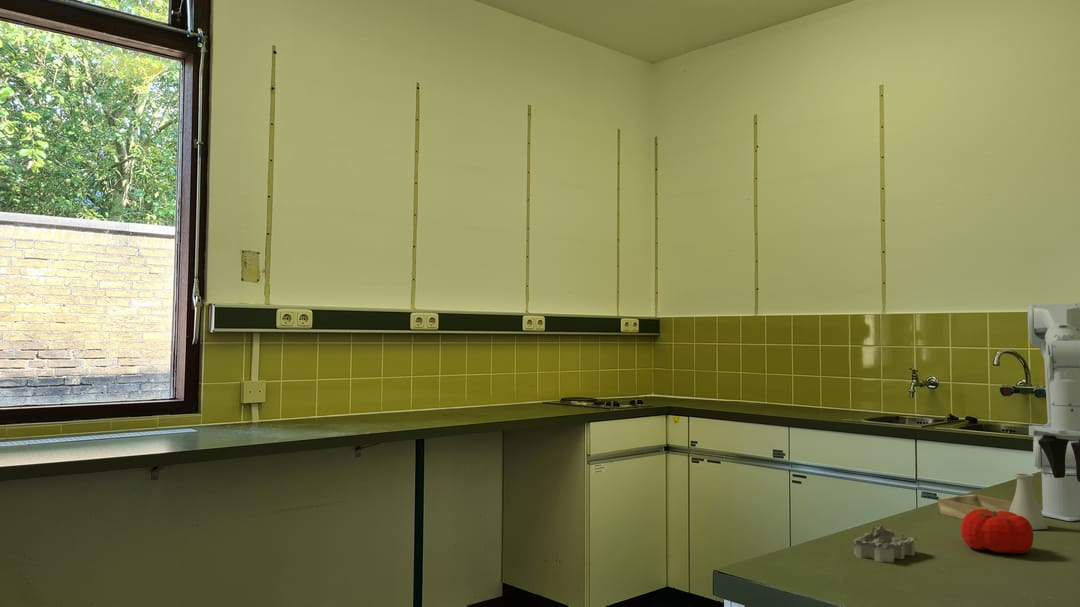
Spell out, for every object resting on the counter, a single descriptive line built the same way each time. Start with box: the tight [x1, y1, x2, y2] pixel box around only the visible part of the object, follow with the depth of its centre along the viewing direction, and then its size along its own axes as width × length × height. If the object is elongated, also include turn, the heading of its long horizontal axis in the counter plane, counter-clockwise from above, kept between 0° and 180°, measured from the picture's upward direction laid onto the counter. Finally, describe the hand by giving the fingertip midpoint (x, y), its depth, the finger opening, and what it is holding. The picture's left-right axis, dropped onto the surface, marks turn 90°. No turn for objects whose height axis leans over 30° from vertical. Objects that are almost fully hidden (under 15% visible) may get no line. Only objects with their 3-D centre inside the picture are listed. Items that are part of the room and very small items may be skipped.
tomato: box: [960, 509, 1035, 555], centre depth 138 cm, size 10×11×6 cm
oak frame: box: [937, 494, 1012, 519], centre depth 164 cm, size 11×11×3 cm
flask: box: [1009, 473, 1049, 531], centre depth 156 cm, size 7×7×10 cm
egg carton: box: [849, 524, 918, 563], centre depth 136 cm, size 11×8×4 cm
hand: (1071, 479), depth 147 cm, fingers open, 4 cm apart
